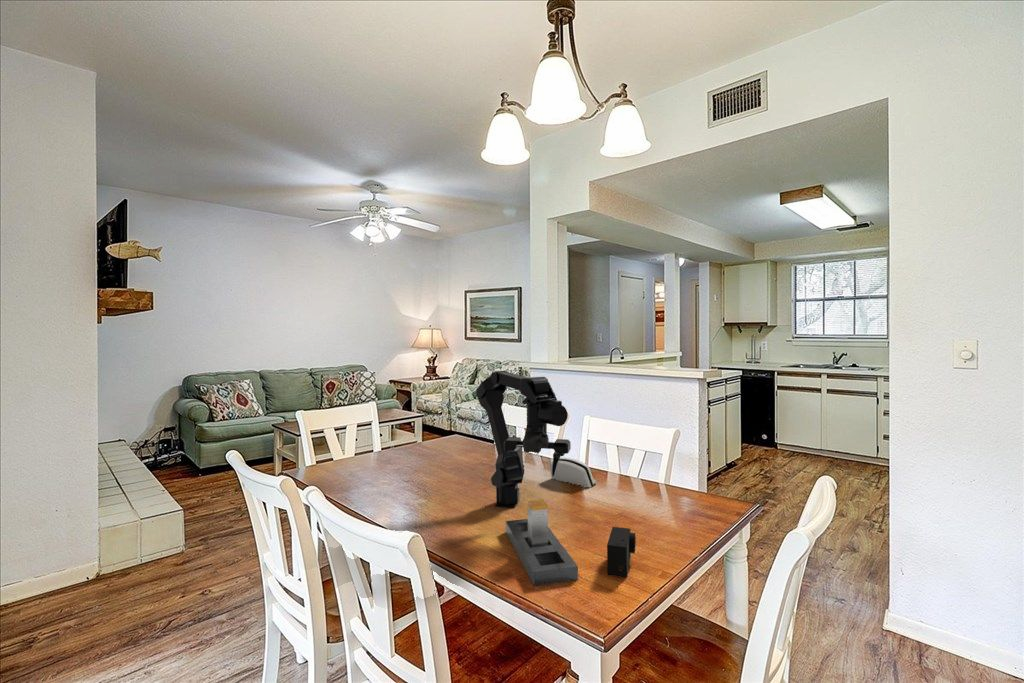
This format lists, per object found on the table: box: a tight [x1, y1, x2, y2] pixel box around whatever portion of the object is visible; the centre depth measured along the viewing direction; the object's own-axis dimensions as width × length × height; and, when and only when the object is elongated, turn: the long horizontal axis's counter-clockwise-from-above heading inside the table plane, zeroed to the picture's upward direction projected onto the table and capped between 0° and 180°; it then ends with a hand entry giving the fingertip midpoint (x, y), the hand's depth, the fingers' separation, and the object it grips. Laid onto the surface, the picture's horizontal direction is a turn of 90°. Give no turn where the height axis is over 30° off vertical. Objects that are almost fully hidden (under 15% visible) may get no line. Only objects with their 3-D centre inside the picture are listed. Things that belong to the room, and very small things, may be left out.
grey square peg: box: [526, 499, 549, 548], centre depth 116 cm, size 4×4×12 cm
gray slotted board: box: [505, 518, 579, 587], centre depth 116 cm, size 28×10×3 cm, turn 13°
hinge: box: [549, 457, 597, 488], centre depth 169 cm, size 17×5×10 cm, turn 48°
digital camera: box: [606, 526, 637, 579], centre depth 109 cm, size 10×5×7 cm, turn 161°
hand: (537, 474), depth 137 cm, fingers open, 9 cm apart
